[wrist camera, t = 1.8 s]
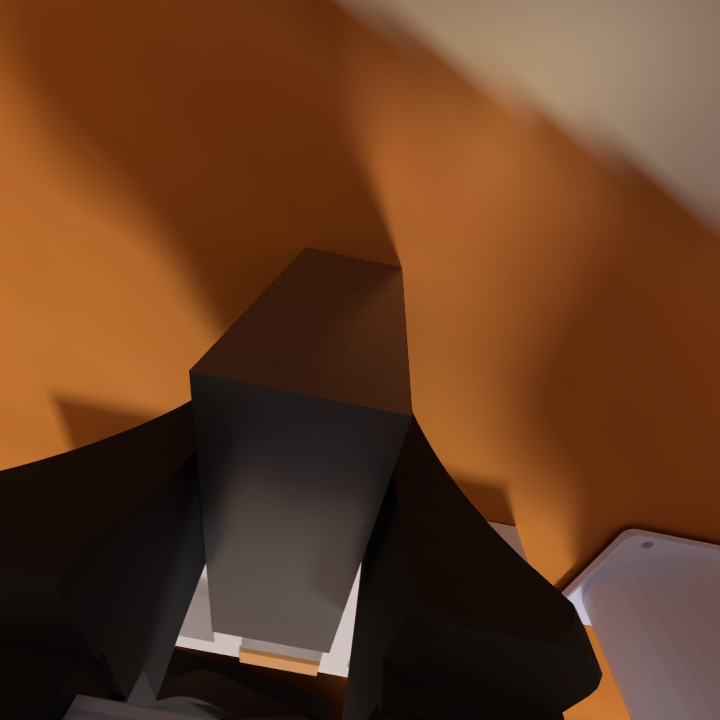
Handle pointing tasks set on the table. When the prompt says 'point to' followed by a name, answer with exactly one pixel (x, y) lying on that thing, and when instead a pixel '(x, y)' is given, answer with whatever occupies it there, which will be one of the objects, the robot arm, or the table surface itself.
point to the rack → (286, 657)
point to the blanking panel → (299, 445)
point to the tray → (233, 693)
